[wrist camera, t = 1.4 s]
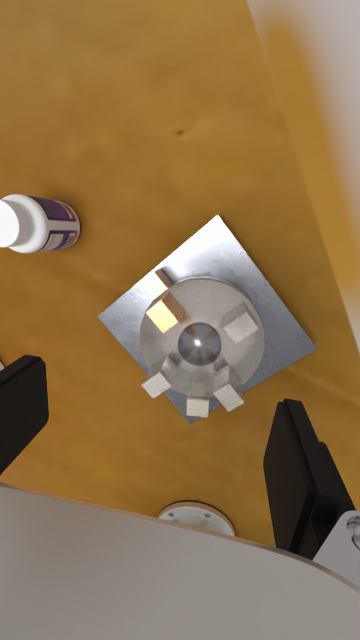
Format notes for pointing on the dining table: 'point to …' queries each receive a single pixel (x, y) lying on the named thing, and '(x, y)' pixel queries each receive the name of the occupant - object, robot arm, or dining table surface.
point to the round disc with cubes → (200, 338)
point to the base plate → (228, 264)
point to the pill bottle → (36, 224)
